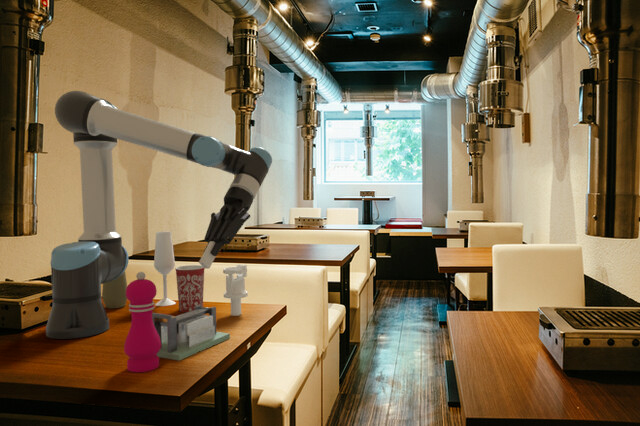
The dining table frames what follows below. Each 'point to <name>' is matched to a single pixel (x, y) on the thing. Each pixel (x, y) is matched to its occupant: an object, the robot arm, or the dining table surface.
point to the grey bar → (186, 316)
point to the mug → (190, 286)
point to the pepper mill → (142, 326)
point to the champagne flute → (164, 261)
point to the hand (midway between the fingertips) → (204, 265)
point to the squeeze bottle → (115, 292)
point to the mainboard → (185, 352)
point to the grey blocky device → (186, 330)
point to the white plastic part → (235, 287)
